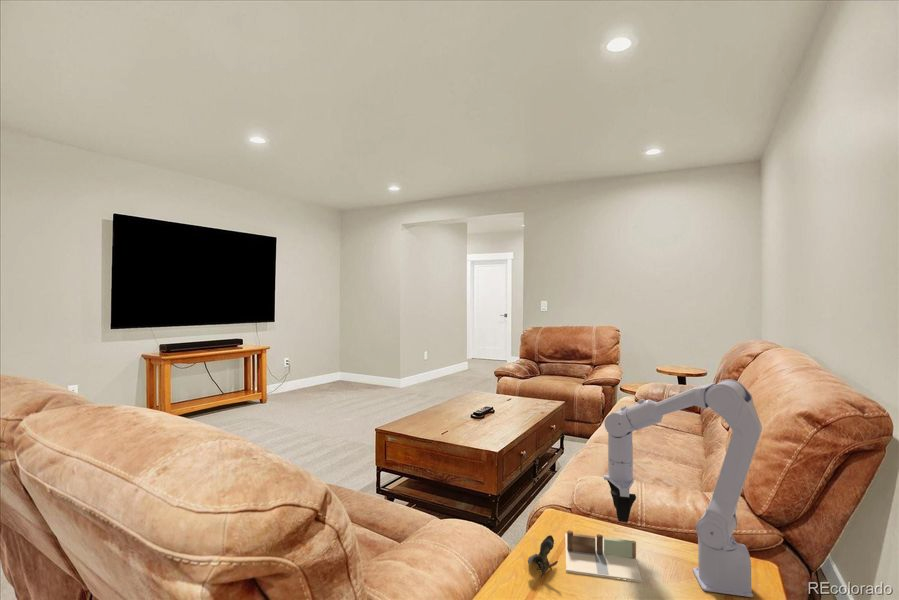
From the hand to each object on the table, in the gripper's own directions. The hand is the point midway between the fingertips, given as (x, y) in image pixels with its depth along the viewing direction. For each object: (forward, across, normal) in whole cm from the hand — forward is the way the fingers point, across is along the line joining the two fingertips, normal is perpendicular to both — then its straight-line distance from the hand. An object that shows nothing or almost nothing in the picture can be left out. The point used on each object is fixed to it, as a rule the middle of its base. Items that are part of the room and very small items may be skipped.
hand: (620, 514), depth 111 cm
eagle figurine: (+9, +13, -19) cm, 25 cm away
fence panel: (+8, +5, -1) cm, 9 cm away
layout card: (+8, +5, -6) cm, 11 cm away
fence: (+8, +5, -9) cm, 13 cm away
